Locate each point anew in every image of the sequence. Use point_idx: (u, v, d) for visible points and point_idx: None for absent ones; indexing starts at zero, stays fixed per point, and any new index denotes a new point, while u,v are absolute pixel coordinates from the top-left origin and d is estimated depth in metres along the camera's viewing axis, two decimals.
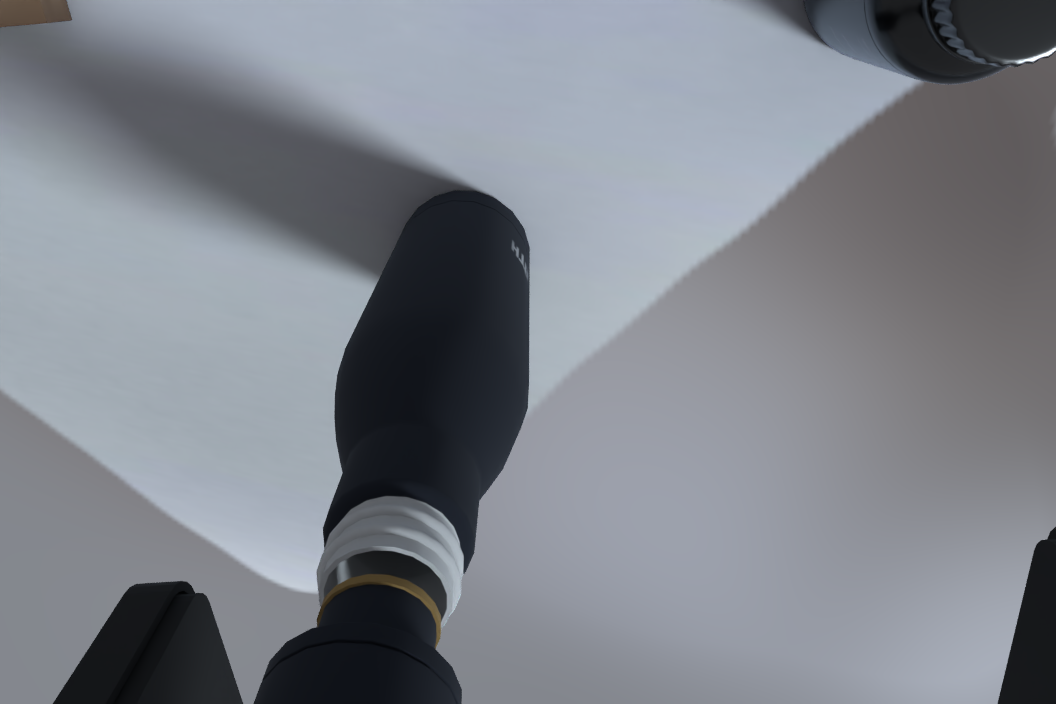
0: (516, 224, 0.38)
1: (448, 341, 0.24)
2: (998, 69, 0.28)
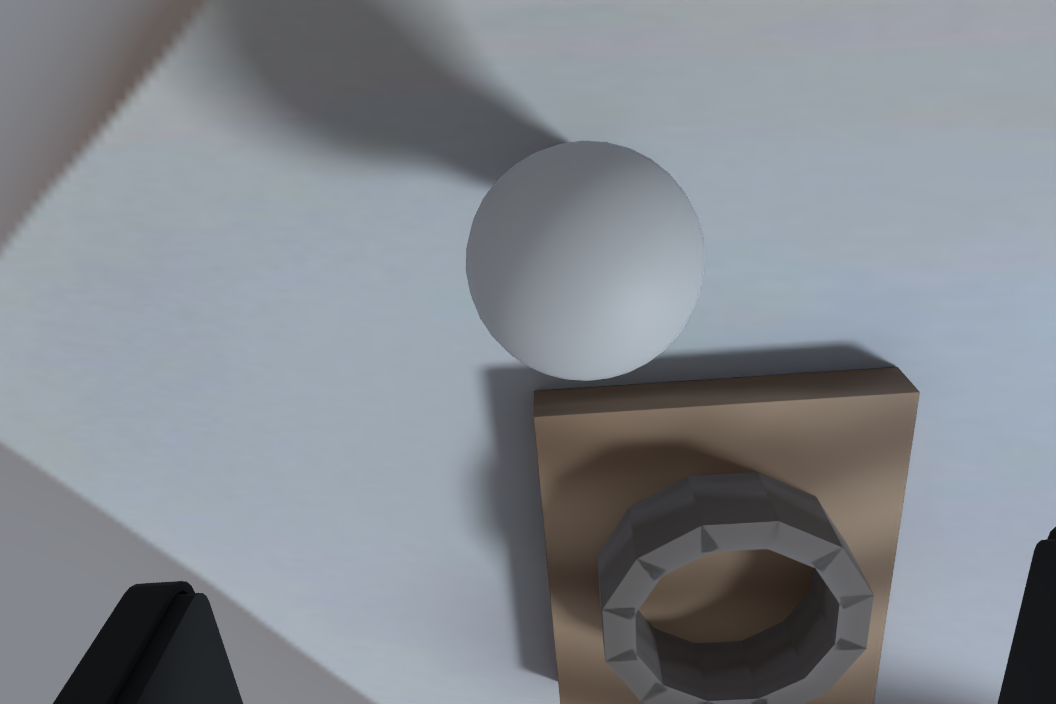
0: None
1: None
2: None
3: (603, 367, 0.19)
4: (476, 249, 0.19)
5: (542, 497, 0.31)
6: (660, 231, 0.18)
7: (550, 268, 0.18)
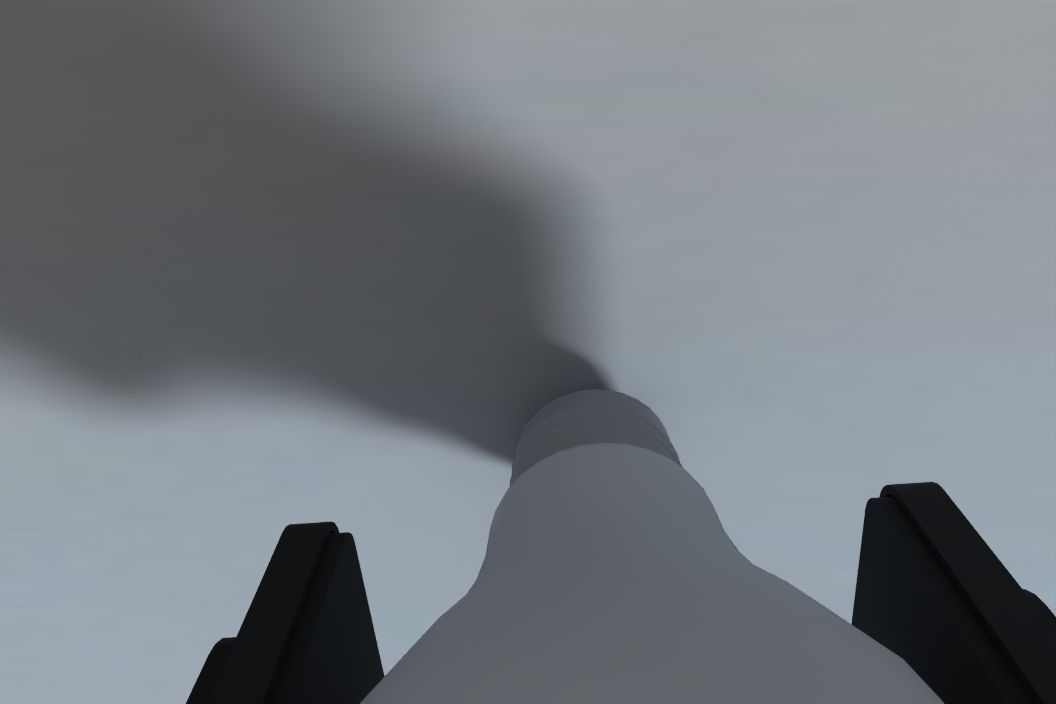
0: None
1: None
2: None
3: None
4: None
5: None
6: None
7: None
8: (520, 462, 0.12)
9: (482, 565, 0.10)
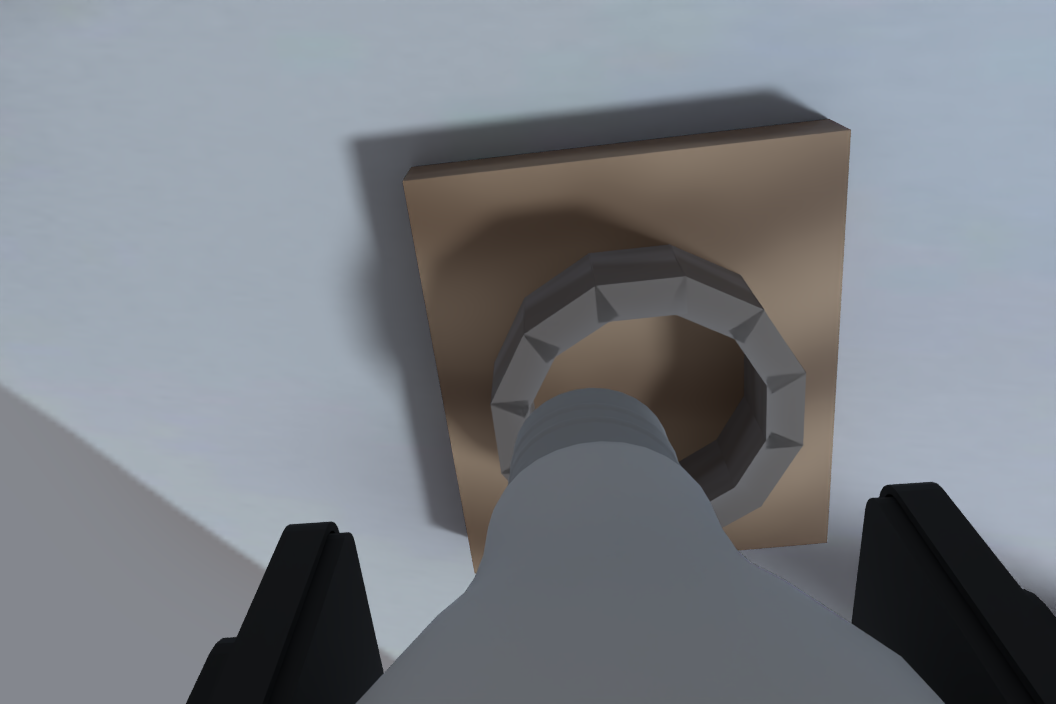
0: None
1: None
2: None
3: None
4: None
5: (423, 287, 0.27)
6: None
7: None
8: (518, 461, 0.12)
9: (480, 564, 0.10)
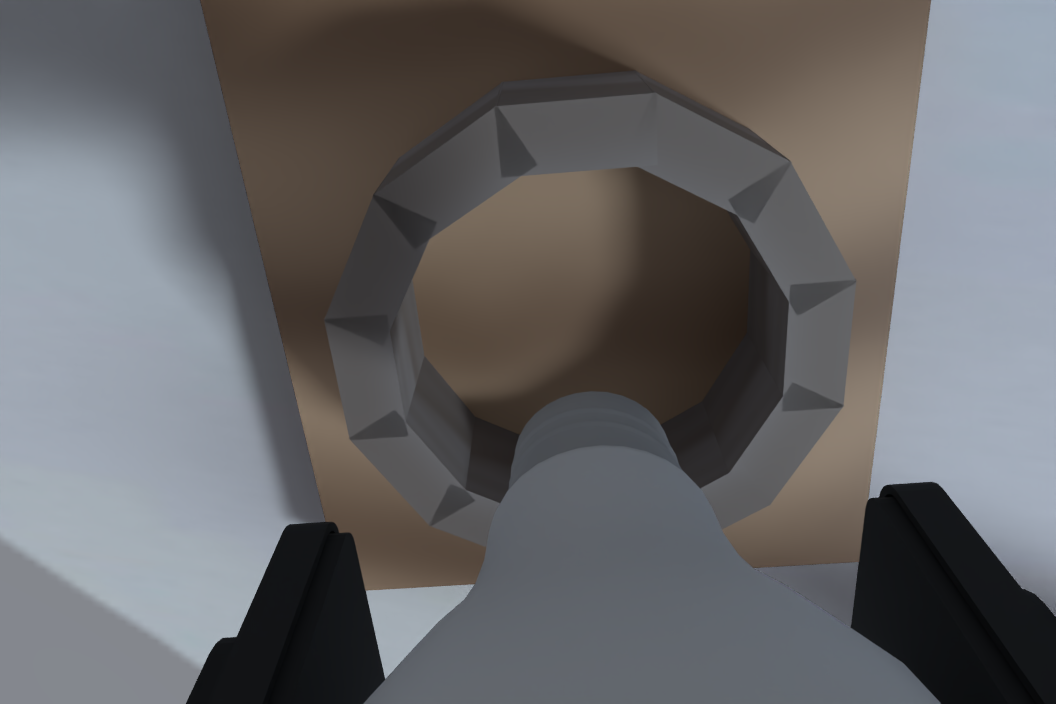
0: None
1: None
2: None
3: None
4: None
5: (234, 134, 0.17)
6: None
7: None
8: (519, 464, 0.12)
9: (481, 568, 0.10)
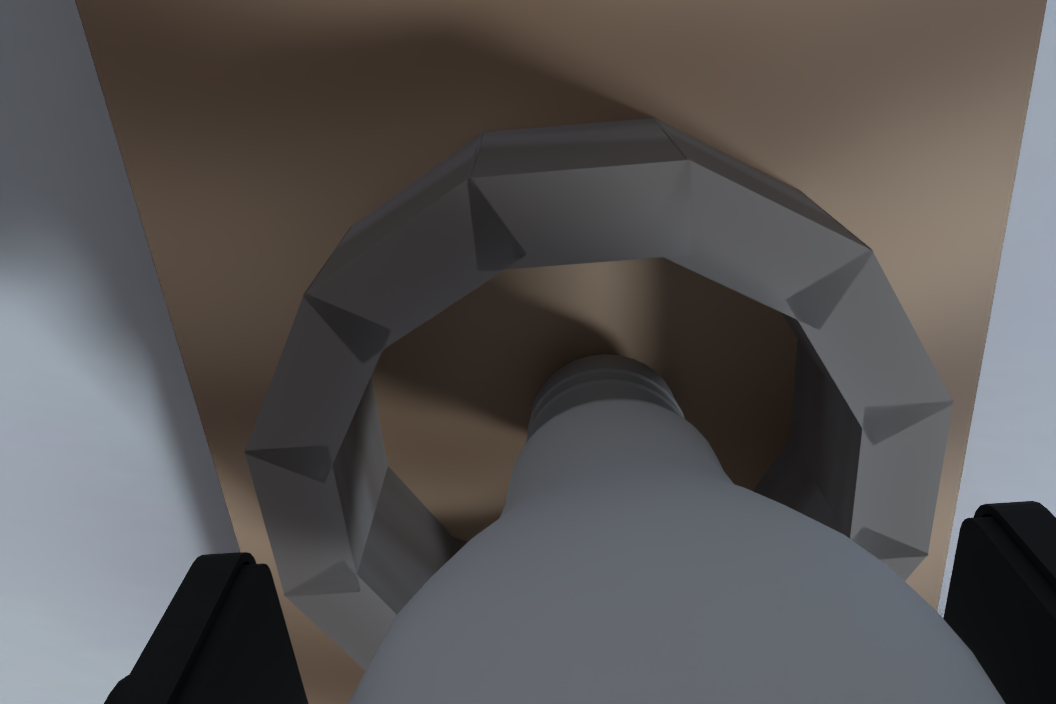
0: None
1: None
2: None
3: None
4: None
5: (136, 198, 0.13)
6: None
7: None
8: (536, 420, 0.12)
9: (504, 507, 0.10)
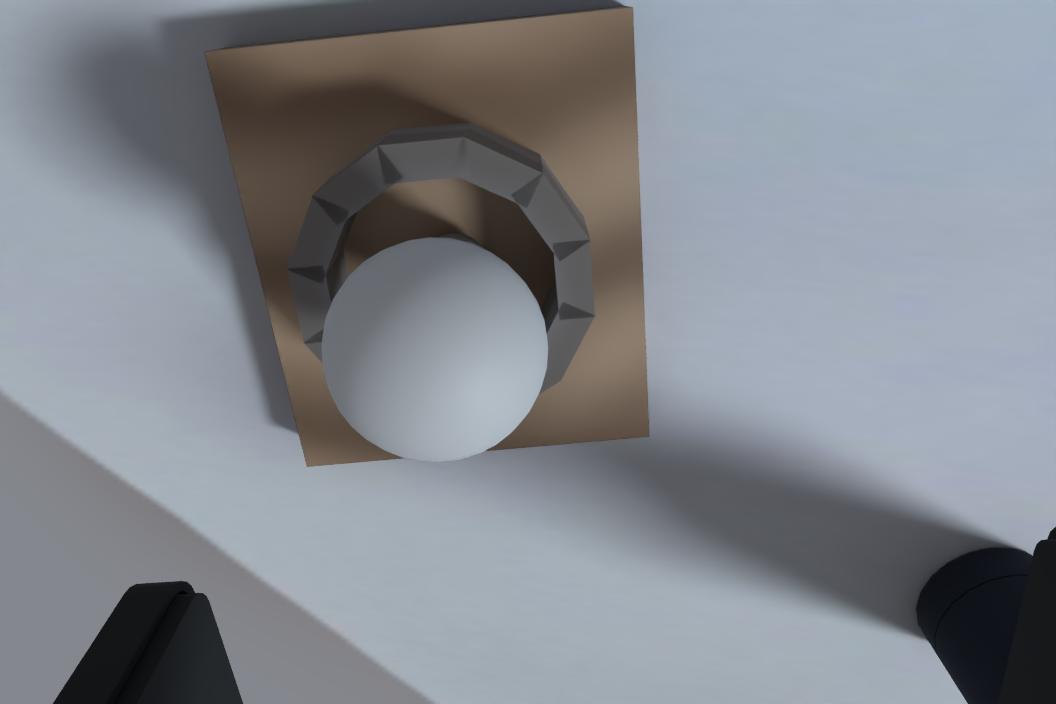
0: None
1: None
2: None
3: (446, 453, 0.21)
4: (325, 343, 0.20)
5: (233, 163, 0.28)
6: (489, 328, 0.19)
7: (384, 366, 0.19)
8: None
9: None
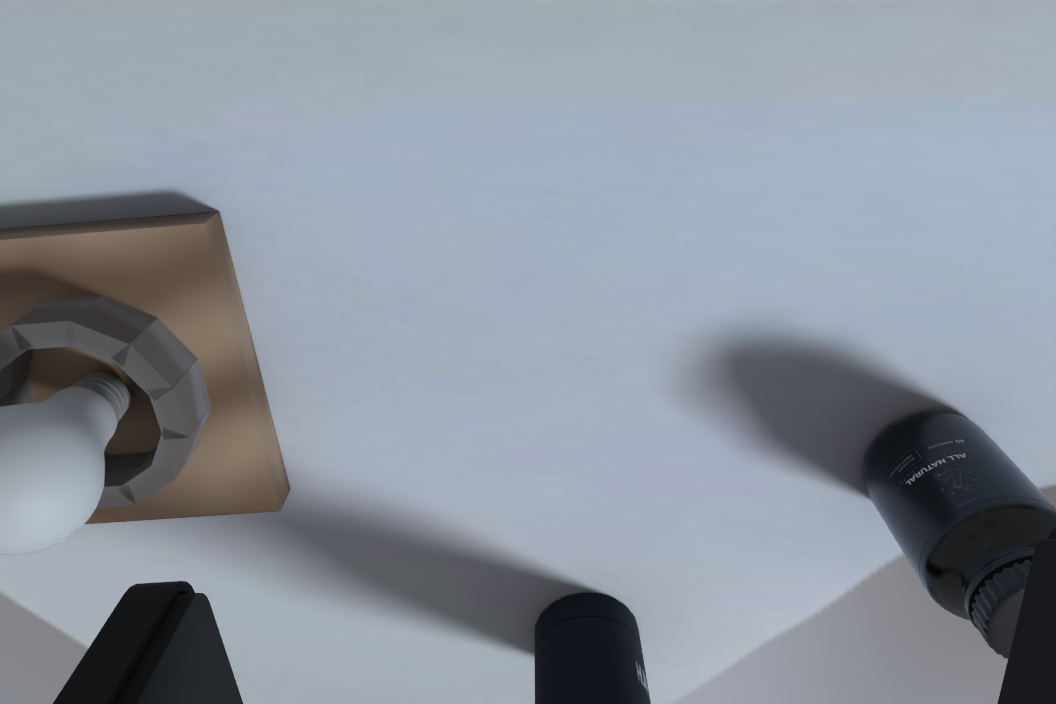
0: (631, 624, 0.48)
1: None
2: None
3: (8, 552, 0.31)
4: None
5: None
6: (19, 478, 0.30)
7: None
8: None
9: None
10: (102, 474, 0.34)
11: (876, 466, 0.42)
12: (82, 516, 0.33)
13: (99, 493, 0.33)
